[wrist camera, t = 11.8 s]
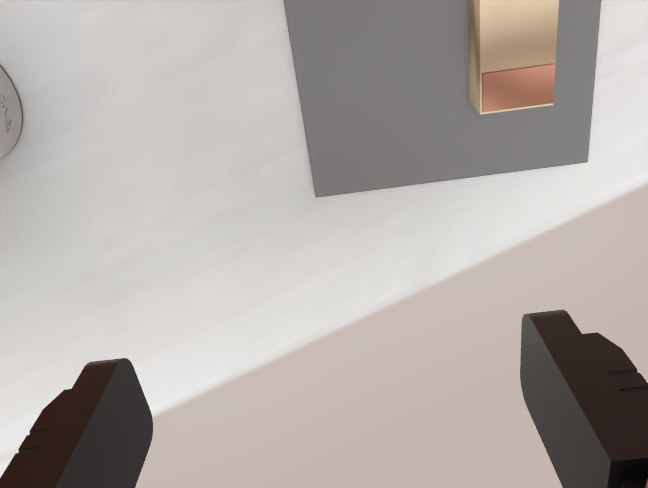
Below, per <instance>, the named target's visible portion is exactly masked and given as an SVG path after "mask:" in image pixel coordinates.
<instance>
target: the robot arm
mask: <svg viewBox="0 0 648 488" xmlns="http://www.w3.org/2000/svg"><path fill="white" fill-rule="evenodd" d="M21 126H22V111H21V105H20V102H19V98H18V95H17V92H16V90H15V88H14V86H13V84H12V82H11V80H10V79H9V77H8V76H7V75H6V73H5V72H4V71H3V69H2V68H1V67H0V159H1V158H2V157H3V156H5V155H6V154H8V153H9V152H10V150H11V149H12V148H13V147H14V145H15V144H16V142H17V140H18V137H19V135H20V132H21ZM520 378H521V386H522V392H523V396H524V400H525V403H526V405H527V408H528V410H529V412H530V415H531V417H532V419H533V421H534V424H535V426H536V428H537V430H538V433H539V435H540V437H541V439H542V442H543V444H544V446H545V448H546V451H547V453H548V455H549V457H550V460H551V462H552V464H553V466H554V469H555V471H556V473H557V475H558V478H559V480H560V482H561V484H562V487H563V488H648V383H647V382H646V380H645V379H644V378H643V376H642V375H641V374H640V373H638V372H637V368H636V367H635V366H634V365H633V363H632V362H631V360H630V359H629V358H628V356H627V355H626V354H625V352H624V351H623V350H622V349H621V348H620V347H618V346H617V345H615V344H614V343H612V342H611V341H609V340H608V339H606V338H605V337H603V336H602V335H600V334H599V333H589V334H582V333H581V332H580V330H579V329H578V327H577V326H576V325H575V323H574V322H573V320H572V319H571V317H570V316H569V314H568V313H567V312H566V311H565V310H556V311H547V312H539V313H530V314H524V316H523V318H522V333H521V368H520ZM152 433H153V421H152V415H151V411H150V409H149V406H148V403H147V401H146V398H145V396H144V393H143V391H142V388H141V385H140V383H139V380H138V378H137V375H136V372H135V370H134V367H133V365H132V363H131V362H130V361H129V360H128V359H126V358H122V359H113V360H104V361H96V362H89V363H88V364H87V365H86V366H85V367H84V369H83V370H82V372H81V374H80V375H79V377H78V379H77V381H76V382H75V384H74V386H73V387H72V389H68V390H64V391H63V392H62V393H61V394H59V395H58V396H57V397H56V398H55V399H54V400H53V401H52V402H51V403H50V404H49V405H48V406H46V407H45V408H44V409H43V411H42V412H41V414H40V415H39V417H38V419H37V420H36V422H35V423H34V425H33V427H32V428H31V430H30V435H27V436H26V438H25V440H24V441H23V443H22V444H21V446H20V448H19V453H18V454H15V456H14V457H13V459H12V460H11V462H10V464H9V465H8V467H7V469H6V470H5V472H4V473H3V475H2V477H1V478H0V488H135V486H136V483H137V480H138V477H139V475H140V472H141V469H142V467H143V464H144V461H145V458H146V455H147V453H148V450H149V447H150V444H151V440H152Z"/></svg>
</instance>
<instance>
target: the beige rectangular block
mask: <svg viewBox="0 0 648 488" xmlns="http://www.w3.org/2000/svg"><path fill="white" fill-rule="evenodd" d="M558 10H559V0H468V15H469V90H470V104H471V105H472V106H473V107H474V108H475V109H476V111H477V112H478V113H479V114H480V115H481V114H488V113H496V112H504V111H511V110H519V109H526V108H534V107H542V106H549V105H553V101H554V83H555V66H556V64H555V62H556V45H557V27H558Z"/></svg>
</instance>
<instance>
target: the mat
mask: <svg viewBox="0 0 648 488" xmlns="http://www.w3.org/2000/svg"><path fill="white" fill-rule="evenodd" d="M284 4H285V11H286V17H287V23H288V29H289V35H290V41H291V48H292V54H293V60H294V66H295V72H296V79H297V85H298V91H299V97H300V103H301V109H302V116H303V122H304V128H305V134H306V140H307V147H308V153H309V159H310V165H311V171H312V177H313V184H314V190H315V196H316V197H324V196H332V195H339V194H347V193H355V192H362V191H370V190H378V189H385V188H393V187H401V186H408V185H416V184H424V183H431V182H439V181H447V180H454V179H462V178H470V177H478V176H485V175H493V174H501V173H508V172H516V171H524V170H531V169H539V168H547V167H554V166H562V165H570V164H577V163H585V162H588V152H589V140H590V128H591V116H592V104H593V92H594V80H595V68H596V56H597V44H598V32H599V20H600V8H601V0H559V10H558V27H557V45H556V62H555V64H556V66H555V83H554V101H553V105H549V106H542V107H534V108H526V109H519V110H511V111H504V112H496V113H488V114H481V115H480V114H479V113H478V112H477V111H476V109H475V108H474V107H473V106H472V105H471V104H470V90H469V15H468V0H284Z"/></svg>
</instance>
